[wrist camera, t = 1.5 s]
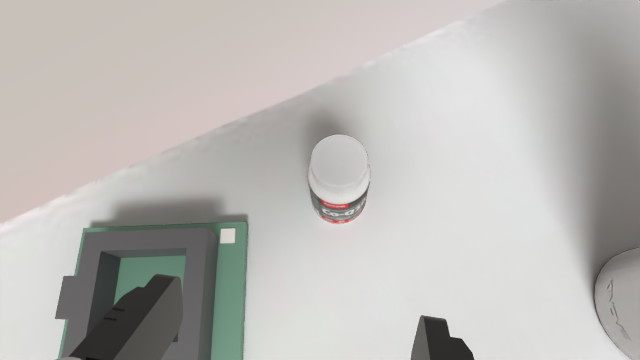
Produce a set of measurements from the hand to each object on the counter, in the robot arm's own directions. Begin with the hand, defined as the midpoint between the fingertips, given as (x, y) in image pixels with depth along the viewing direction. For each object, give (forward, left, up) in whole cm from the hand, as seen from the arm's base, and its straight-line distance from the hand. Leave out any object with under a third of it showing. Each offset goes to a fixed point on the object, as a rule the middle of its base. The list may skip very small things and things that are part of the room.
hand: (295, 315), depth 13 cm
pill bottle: (-2, -10, -20) cm, 22 cm away
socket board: (+13, -2, -19) cm, 24 cm away
